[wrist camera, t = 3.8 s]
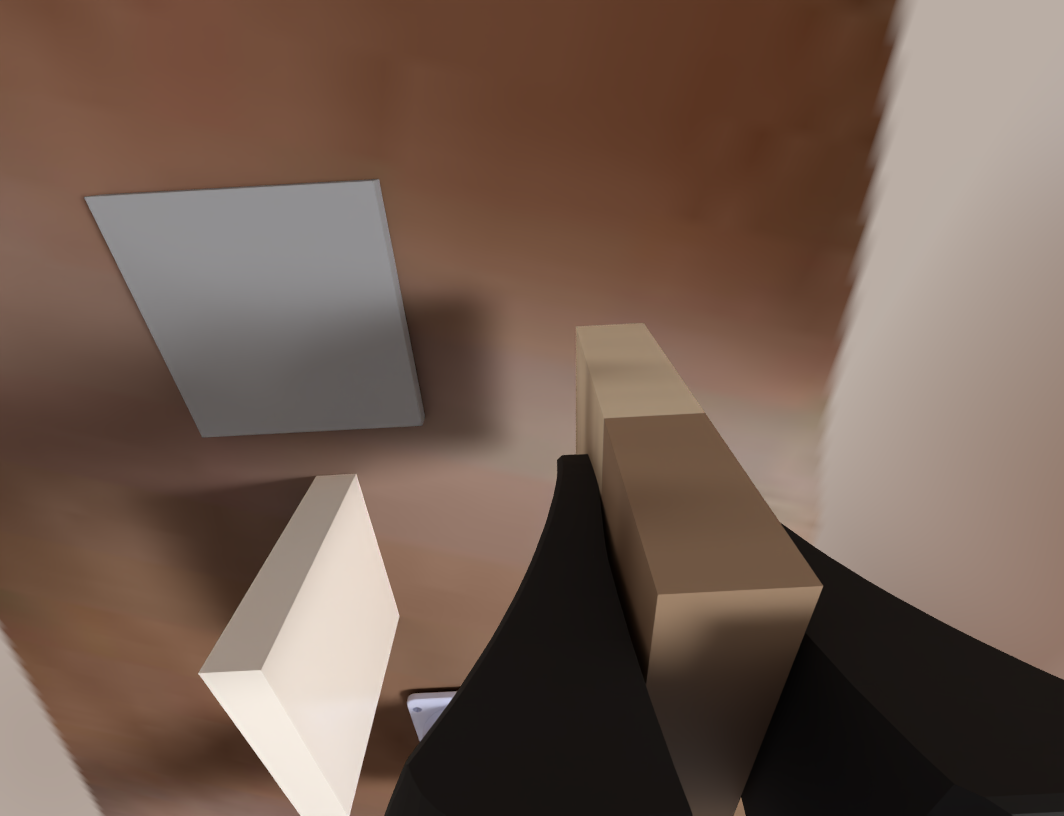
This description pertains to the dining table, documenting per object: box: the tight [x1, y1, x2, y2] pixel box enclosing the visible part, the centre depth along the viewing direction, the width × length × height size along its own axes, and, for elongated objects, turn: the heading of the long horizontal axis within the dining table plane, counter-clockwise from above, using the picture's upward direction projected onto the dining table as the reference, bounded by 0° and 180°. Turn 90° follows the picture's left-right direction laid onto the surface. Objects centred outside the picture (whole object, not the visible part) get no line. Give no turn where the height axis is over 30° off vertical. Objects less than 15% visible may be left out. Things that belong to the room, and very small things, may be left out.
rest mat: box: [84, 179, 425, 437], centre depth 15 cm, size 8×8×1 cm
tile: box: [198, 474, 399, 816], centre depth 18 cm, size 9×2×8 cm, turn 3°
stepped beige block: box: [576, 323, 823, 816], centre depth 9 cm, size 6×2×8 cm, turn 3°
